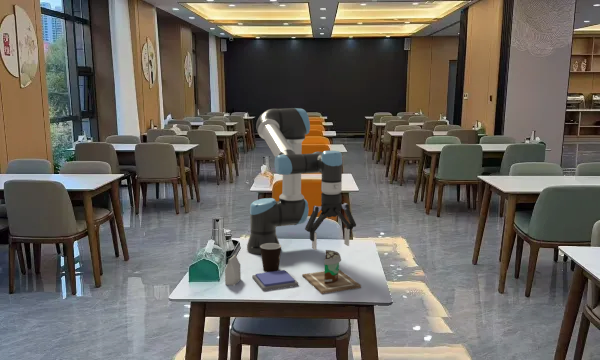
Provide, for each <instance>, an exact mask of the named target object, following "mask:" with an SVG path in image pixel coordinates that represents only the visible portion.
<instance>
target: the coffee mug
mask: <svg viewBox="0 0 600 360" xmlns="http://www.w3.org/2000/svg"><path fill="white" fill-rule="evenodd" d="M260 249H261V254H260V255H261V261H262V270H263V272H264V273H266V272H274V271H280V269H279V268H280V262H281V253H282V252H281V251H282V245H281V244H280V243H279V244H276V243H266V244H262V245H261V246H260Z"/></svg>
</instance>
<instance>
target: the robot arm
mask: <svg viewBox="0 0 600 360" xmlns="http://www.w3.org/2000/svg"><path fill="white" fill-rule="evenodd" d="M255 124H256V126H255V128H256V131H257V134H258V135H259V137H260V138H261V139H263V140H264V141H265V142H266V144H267V146H268V147H269V149H270V152H271V153H272V155H273V157H274V162H273V163H274V169H275V173H276V174H277V175H281V176H282V190H281V191H282V193H281V194H279V196H278V200H276V199H275V198H272V197H269V198H268V197H266V198H260V199H256V200H254V201H253V202H252V203H250V205H249V206H250V208H249V215H250V216H249V217H250V218H249V220H250V222H249V223H250V235H249V237H248V241H247V244H246V250H247V252H249V253H251V254H255V255H261V249H260V246H261V245H262V244H266V243H276V244H280V242H279V241H280V240H279V238H278V235H277V227H285V226H297V225H303V224H304V223H305V222H306V221H307V223H306V225H305V227H304V230H305V232H306V231H307V232H308V233H309V240H310V241H311V248H312V249H313V250H314V251H316V250H317V246H318V245H317V244H318V242H317V237H318V235H317V232H316V231H317V230H318V228H319V227H320V226H321V224H323V222H324V220H326V219H327V218H332V217H333V218H335V217H338V219H339V220H340V221H341V222H342V223H343V225H345V227H344V240H343V241H344V245H345V246H347V247H350V237H352V230H354V228H355V227H357V223H356V221H355V219H354V217H353V215H352V212H351V210H350V204H348V203H346V202H344V203H343V204H342V193H341V192H342V191H343V190H342V188H343V186H342V183H343V182H342V181H343V179H342V177H343V174H342V173H343V154H342V152H341V151H339V150H324V151H323V152H322V151H315V152H313V153H302V149H303V148H302V147H303V145H302V144H303V141H304V140H305V139H306V135H308V134H309V133H310V130H311V123H310V118H309V114H308V113H307V111H306V110H305V109H303V108H296V107H294V108H293V107H291V108H290V107H289V108H270V109H267V110H265V111H264V112H263V113H261V114H260V115H259V117H258V119H257V121H256V123H255ZM319 173H320V174H321V185H320V186H321V196H320V197H321V198H320V199H321V201H320V203H321V205H320V206H318V205H314V206H313V207H312V212H311V213H310V214H311V215H310V217H309V219H308V216H309V211H310V210H309V202H308V201H307V199H305V196H304V195H303V194H302V174H303V175H304V174H319ZM342 210H344V213H345V215H346V217H347V219H348V220H347V219H346V218H345V216H344V215H343V214H342V212H341V211H342ZM320 211H321V212H320ZM319 213H320V214H319ZM318 215H319V216H318ZM317 217H318V218H317ZM307 219H308V220H307Z"/></svg>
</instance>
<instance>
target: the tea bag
mask: <svg viewBox="0 0 600 360" xmlns="http://www.w3.org/2000/svg"><path fill="white" fill-rule="evenodd" d="M227 261H228V262H227V265H226V267H225V268H224V277H225V278H224V280H225V281H224V282H225V285H228V286H236V285H237V284H238V283H239V282H240V281H241V280H242V279H241V277H242V275H241V273H242V272H241V263H240V261H239V259H238V257H237V254H234V255H233V256H232V257H230V258H228V260H227Z"/></svg>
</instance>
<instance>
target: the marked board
mask: <svg viewBox="0 0 600 360" xmlns="http://www.w3.org/2000/svg"><path fill="white" fill-rule="evenodd" d="M302 277H303V279H305V281H307V282H308V283H309V284H310V285H311V286H312V287H313V286H314V287H313V288H314V289H316V291H318V292H319V293H320V294H321V295H322V294H329V293H335V292H343V291H348V290H356V289H361V288H362V285H361V284H360V283H359V282H357V281H356V280H355V279H353V278H352V277H350V276H349V274H347V273H345V272H344V271H342V270H341V269H340V268H339V272H338V281H336V282H334V283H329V284H324V282H325V270H322V271H317V272H316V271H315V272H308V273H302Z"/></svg>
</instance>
